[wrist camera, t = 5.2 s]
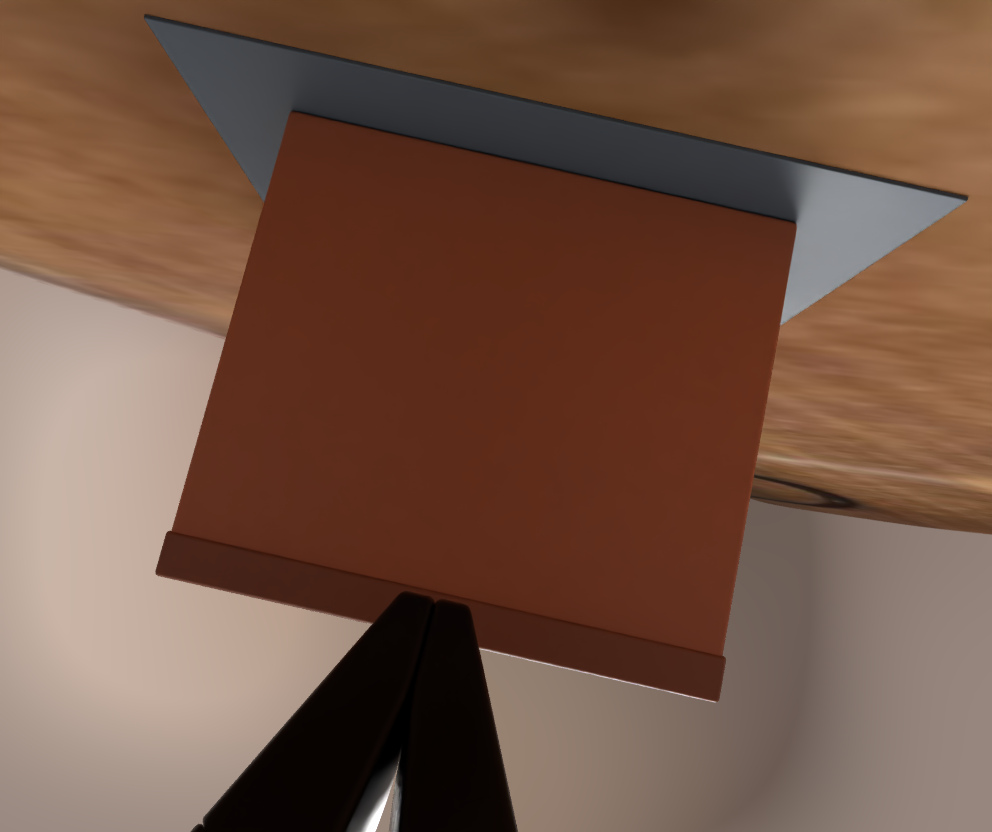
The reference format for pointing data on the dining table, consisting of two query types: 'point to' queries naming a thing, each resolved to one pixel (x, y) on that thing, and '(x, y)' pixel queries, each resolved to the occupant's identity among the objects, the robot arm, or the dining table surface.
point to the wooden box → (490, 404)
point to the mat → (550, 147)
